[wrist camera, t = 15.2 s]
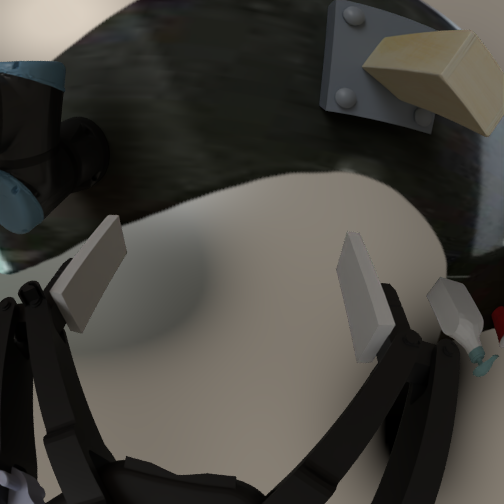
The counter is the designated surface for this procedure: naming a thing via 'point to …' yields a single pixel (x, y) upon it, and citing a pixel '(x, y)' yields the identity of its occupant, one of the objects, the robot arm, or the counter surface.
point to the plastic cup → (499, 324)
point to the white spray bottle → (460, 319)
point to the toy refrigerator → (443, 76)
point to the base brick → (354, 56)
